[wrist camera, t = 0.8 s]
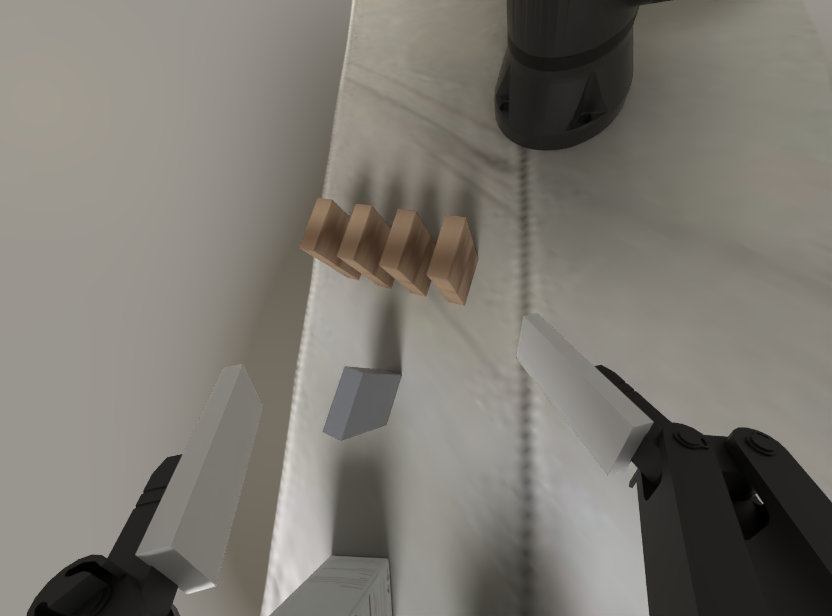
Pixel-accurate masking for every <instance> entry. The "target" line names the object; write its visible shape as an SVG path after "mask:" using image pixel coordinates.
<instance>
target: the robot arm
mask: <svg viewBox="0 0 832 616" xmlns="http://www.w3.org/2000/svg"><path fill="white" fill-rule="evenodd" d="M664 1H671V0H507V26H508V46H507V49H506V53H505V56H504V60H503V63H502V67H501V70H500V74H499V77H498V81H497V85H496V89H495V99H494V100H495V115H496V120H497V123H498V126H499V128H500V129H501V131H502V132H503V133H504V134H505V135H506V137H508V138H509V139H510V140H511V141H513V142H515V143H517V144H519V145H521V146H523V147H527V148H531V149H537V150H556V149H562V148H567V147H571V146H574V145H577V144H579V143H582V142H584V141H586V140H588V139H590V138H592V137H594V136H595V135H597V134H598V133H600V132H601V131H602V130H604V129H605V128H606V127H607V126H608V125H609V124H610V123H611V122H612V121H613V120H614V119H615V117H616V116H617V115H618V113H619V112H620V110H621V108H622V106H623V104H624V101H625V99H626V96H627V94H628V91H629V89H630V86H631V82H632V77H633V24H634V21H635V18H636V15H637V12H638V9H639V6H640V5H646V4H651V3H657V2H664ZM516 358H517V359H518V361H519V362H520V363H521V364H522V366H523V367H524V368H525V370H526V371H527V372H528V374H529V375H530V376H531V377H532V379H533V380H534V381H535V383H536V384H537V385H538V386H539V388H540V389H541V390H542V392H543V393H544V394H545V395H546V397H547V398H548V399H549V401H550V402H551V403H552V405H553V406H554V407H555V408H556V410H557V411H558V412H559V414H560V415H561V416H562V417H563V419H564V420H565V421H566V423H567V424H568V425H569V427H570V428H571V429H572V430H573V432H574V433H575V434H576V436H577V437H578V438H579V439H580V441H581V442H582V443H583V445H584V446H585V447H586V448H587V450H588V451H589V452H590V454H591V455H592V456H593V458H594V459H595V460H596V461H597V463H598V464H599V465H600V467H601V468H602V469H603V470H604V472H605V473H606V474H607V476H608V475H611V474H615V473H618V472H622V471H625V470H626V469H627V467H628V465H629V464H630V462H631V461H632V462H633V463H634V464H635V465H636V466H637V468H638V469H637V471H636V472H635V474H634V475H633V477H632V479H631V480H630V483H629V487H631V488H633V486H634V485H635V483H636V482H637V491H638V501H639V512H640V522H641V533H642V543H643V554H644V564H645V575H646V585H647V595H648V606H649V616H832V502H831V501H830V500H829V499H828V497H827V496H826V495H825V494H824V493H823V492H822V490H821V489H820V488H819V487H818V486H817V485H816V483H815V482H814V481H813V480H812V479H811V478H810V476H809V475H808V474H807V473H806V472H805V471H804V469H803V468H802V467H801V466H800V465H799V464H798V462H797V461H796V460H795V459H794V458H793V457H792V455H791V454H790V453H789V452H788V451H787V450H786V449H785V448H784V447H783V446H782V445H781V444H780V443H779V442H778V441H776V440H775V439H773V438H771V437H770V436H768V435H766V434H764V433H762V432H760V431H757V430H754V429H750V428H737V429H735V430H733V431H732V433H731V434H730V435H729V436H728V437H724V436H711V435H703V434H702V433H700V432H698V431H697V430H695V429H694V428H692V427H689V426H687V425H684V424H679V423H672V422H671V421H669V420H668V419H667V418H666V417H665V416H663V415H662V414H661V413H660V412H659V411H658V410H657V409H655V408H654V407H653V406H652V405H651V404H650V403H649V402H648V401H646V400H645V399H644V398H643V397H642V396H641V395H640V394H639V393H637V392H636V391H634V389H633V388H632V387H631V386H630V385H628V384H626V383H625V381H624V380H623V379H622V378H621V377H619V376H618V375H617V374H616V373H615V372H613V371H611V370H610V369H608V368H606V367H604V366H602V365H598V366H593V365H592V364H591V363H590V362H589V361H588V360H587V359H586V358H585V357H584V356H583V355H581V354H580V353H579V352H578V351H577V350H576V349H575V348H574V347H573V346H572V345H571V344H570V343H569V342H568V341H566V340H565V339H564V338H563V337H562V336H561V335H560V334H559V333H558V332H557V331H556V330H555V329H554V328H553V327H551V326H550V325H549V324H548V323H547V322H546V321H545V320H544V319H543V318H542V317H541V316H540V315H539V314H538V313H537V314H531V315H525V316H523V322H522V327H521V333H520V339H519V344H518V350H517V356H516ZM262 410H263V406H262V404H261V401H260V400H259V397H258V395H257V393H256V391H255V389H254V386H253V384H252V383H251V380H250V378H249V376H248V374H247V371H246V369H245V367H244V365H243V364H240V365H234V366H228V367H224V368H223V370H222V372H221V374H220V376H219V378H218V380H217V382H216V385H215V387H214V389H213V391H212V393H211V395H210V397H209V399H208V401H207V404H206V406H205V408H204V410H203V412H202V414H201V417H200V418H199V421H198V423H197V425H196V427H195V429H194V431H193V433H192V436H191V438H190V440H189V442H188V444H187V446H186V448H185V451H184V453H183V454H181V455H176V456H171V457H167V458H166V459H165V460H164V461H163V463H162V464H161V465H160V466H159V467H158V468H157V469H156V470H155V471H154V473H153V474H152V475H151V477H150V479H149V481H148V483H147V485H146V487H145V489H144V491H143V492H144V493H143V494H142V495H141V496H140V498H139V500H138V502H137V504H136V508H135V509H133V511H132V513H131V515H130V517H129V519H128V521H127V523H126V524H125V526H124V528H123V530H122V532H121V534H120V536H119V538H118V540H117V542H116V543H115V545H114V547H113V549H112V551H111V553H110V554H109V556H108V558H105V557H104V556H102V555H90V556H87V557H84V558H81V559H78V560H77V561H75V562H74V563H72V564H70V565H69V566H67V567H65V568H64V569H63V570H61V571H60V572H59V573H58V574H57V575H56V576H55V577H54V578H52V579H51V580H50V581H49V582H48V583H47V584H46V585H45V587H44V588H43V589H42V590H41V591H40V593H39V594H38V595H37V596H36V597H35V599H34V601H33V603H32V605H31V607H30V608H29V610H28V612H27V616H180V615H179V612H178V610H177V608H176V607H175V606H174V605H173V604H172V603H173V600H174V597H175V595H176V591H177V589H178V588H180V589H181V590H182V591H184V592H185V593H186V594H190V593H194V592H197V591H201V590H204V589H208V588H211V587H215V586H216V585H217V581H218V577H219V573H220V570H221V566H222V562H223V558H224V554H225V551H226V547H227V543H228V539H229V535H230V532H231V528H232V524H233V520H234V516H235V513H236V509H237V505H238V501H239V497H240V493H241V490H242V486H243V482H244V478H245V475H246V471H247V467H248V463H249V459H250V456H251V452H252V448H253V444H254V440H255V437H256V433H257V429H258V425H259V421H260V418H261V414H262ZM755 494H758V496H759V497H760V499H761V500H762V502H763V503H764V504H762V503H761V502H760V501H759V500H758V498H757V497H756V495H755Z"/></svg>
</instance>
